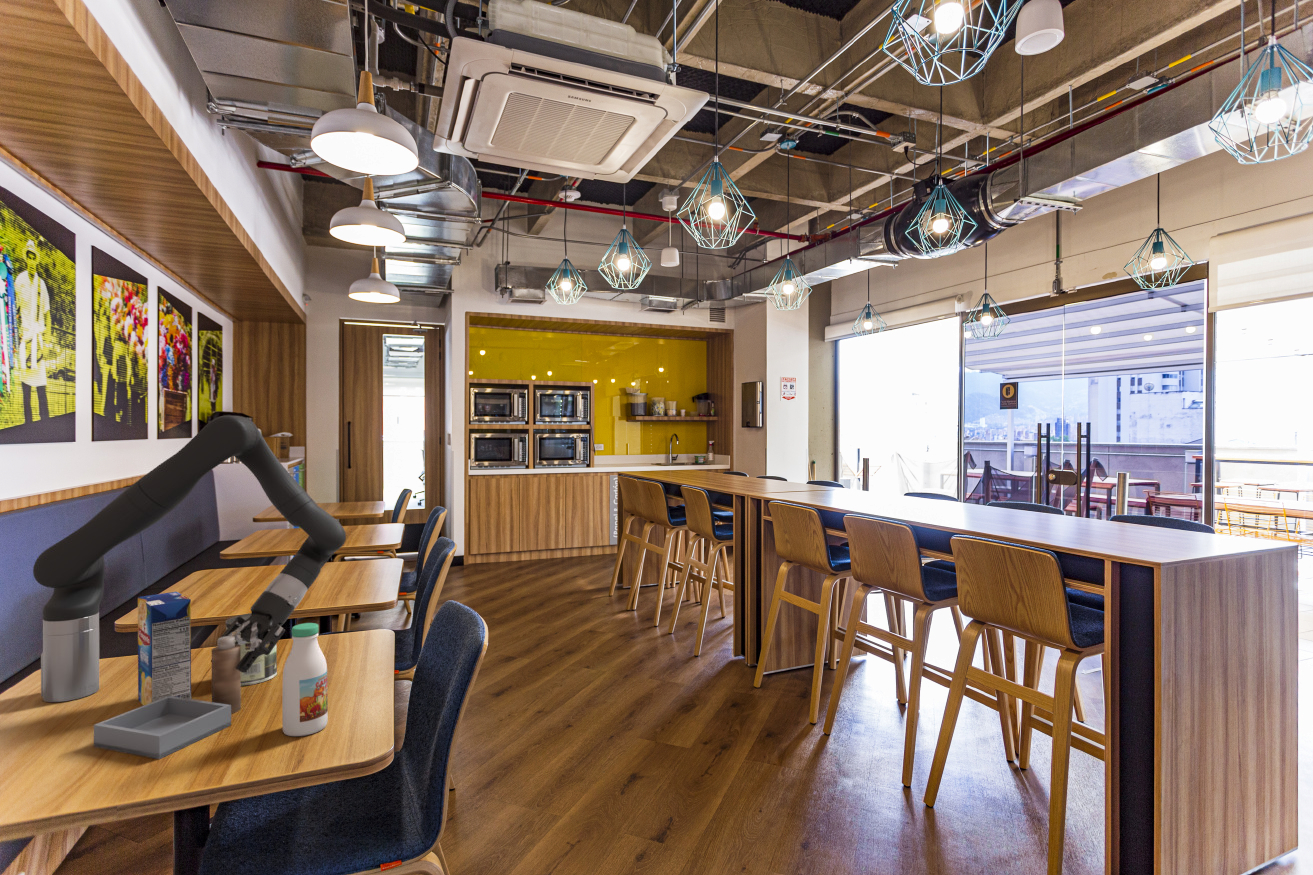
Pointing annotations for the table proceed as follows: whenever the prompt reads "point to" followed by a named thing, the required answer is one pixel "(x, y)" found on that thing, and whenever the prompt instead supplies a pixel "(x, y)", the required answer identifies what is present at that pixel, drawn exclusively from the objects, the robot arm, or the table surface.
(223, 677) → the brown bottle
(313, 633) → the milk bottle
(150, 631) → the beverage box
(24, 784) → the table surface
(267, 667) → the coffee can
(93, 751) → the table surface
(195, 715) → the grey bin
